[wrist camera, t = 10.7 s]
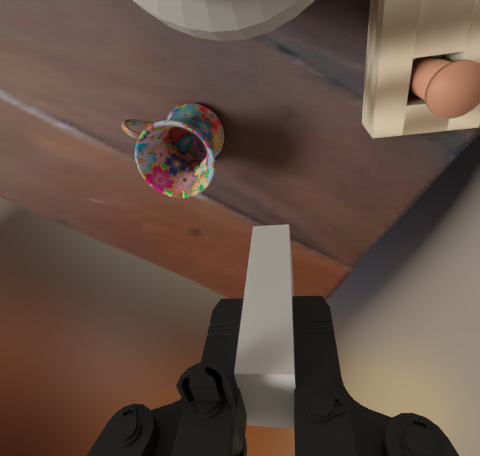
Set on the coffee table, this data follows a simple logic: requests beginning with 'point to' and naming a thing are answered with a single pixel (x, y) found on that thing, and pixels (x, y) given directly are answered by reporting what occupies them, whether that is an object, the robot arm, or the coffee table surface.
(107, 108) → the coffee table surface
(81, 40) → the coffee table surface
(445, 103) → the terracotta plug
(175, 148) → the mug
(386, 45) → the block
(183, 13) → the vase
